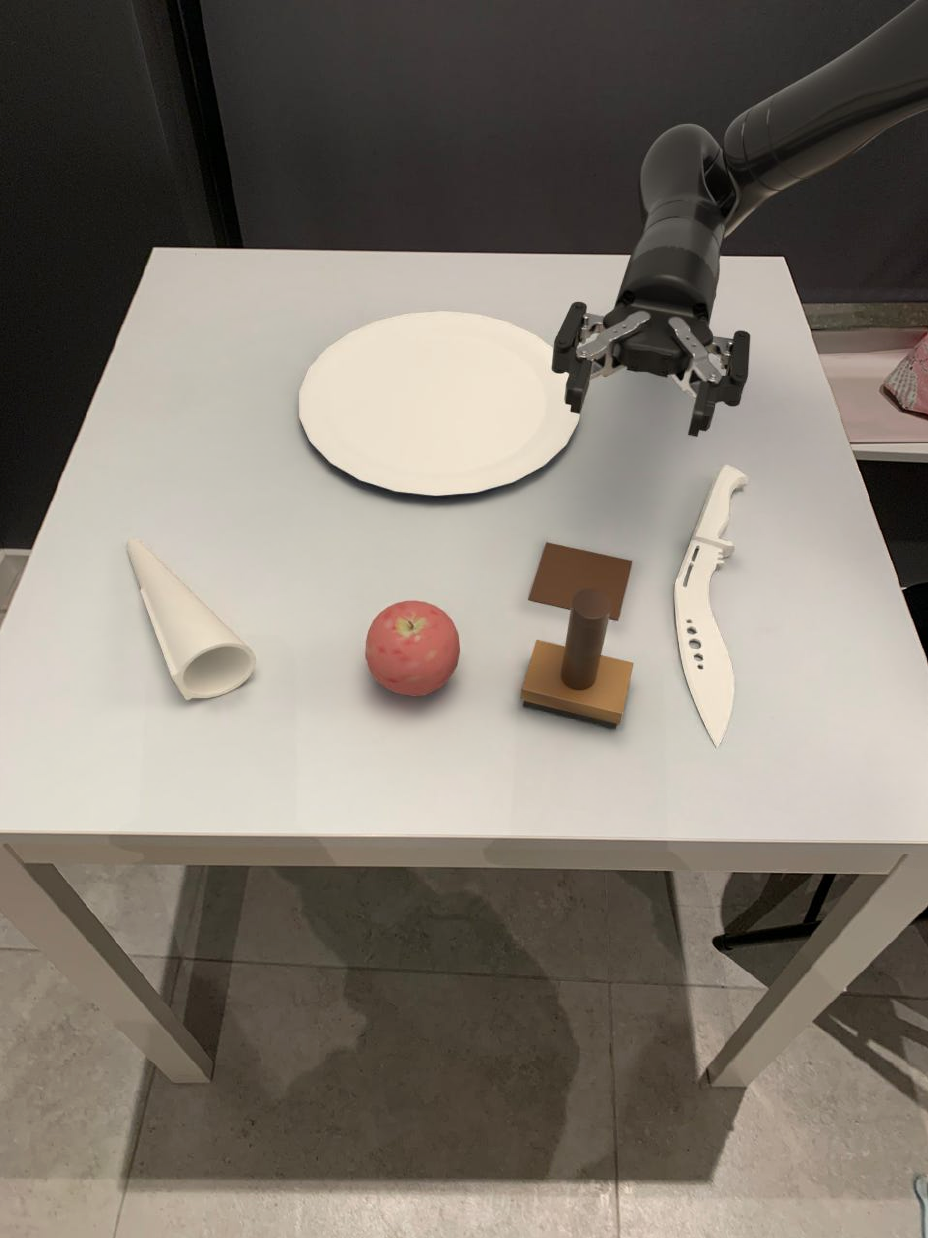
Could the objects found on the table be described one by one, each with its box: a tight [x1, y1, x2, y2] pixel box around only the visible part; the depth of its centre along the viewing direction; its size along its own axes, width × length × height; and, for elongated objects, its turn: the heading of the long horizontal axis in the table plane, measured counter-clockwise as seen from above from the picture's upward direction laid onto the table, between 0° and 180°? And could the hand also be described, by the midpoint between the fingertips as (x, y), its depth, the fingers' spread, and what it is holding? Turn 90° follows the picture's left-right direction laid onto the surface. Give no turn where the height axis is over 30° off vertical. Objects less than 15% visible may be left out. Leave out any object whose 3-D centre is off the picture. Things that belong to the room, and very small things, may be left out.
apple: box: [365, 599, 461, 697], centre depth 73 cm, size 7×7×8 cm
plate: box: [298, 310, 581, 498], centre depth 97 cm, size 29×29×2 cm
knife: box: [673, 464, 749, 749], centre depth 81 cm, size 30×2×8 cm
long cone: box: [126, 536, 257, 701], centre depth 79 cm, size 6×6×19 cm
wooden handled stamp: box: [520, 588, 635, 730], centre depth 71 cm, size 8×5×12 cm, turn 74°
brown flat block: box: [527, 541, 633, 621], centre depth 83 cm, size 8×7×1 cm
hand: (635, 415), depth 66 cm, fingers open, 8 cm apart
